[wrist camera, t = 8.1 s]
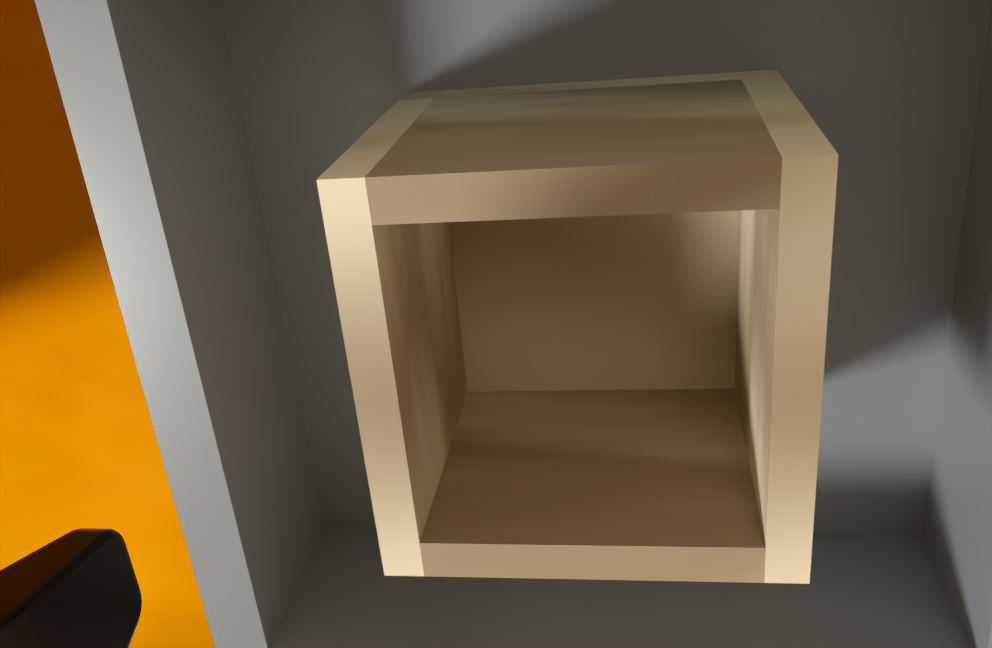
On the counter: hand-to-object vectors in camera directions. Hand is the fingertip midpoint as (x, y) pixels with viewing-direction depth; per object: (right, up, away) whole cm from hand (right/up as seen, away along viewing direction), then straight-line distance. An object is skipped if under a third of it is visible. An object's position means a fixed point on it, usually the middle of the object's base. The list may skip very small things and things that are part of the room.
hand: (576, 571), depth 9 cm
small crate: (+1, +4, +8) cm, 9 cm away
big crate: (+1, +4, +9) cm, 10 cm away
